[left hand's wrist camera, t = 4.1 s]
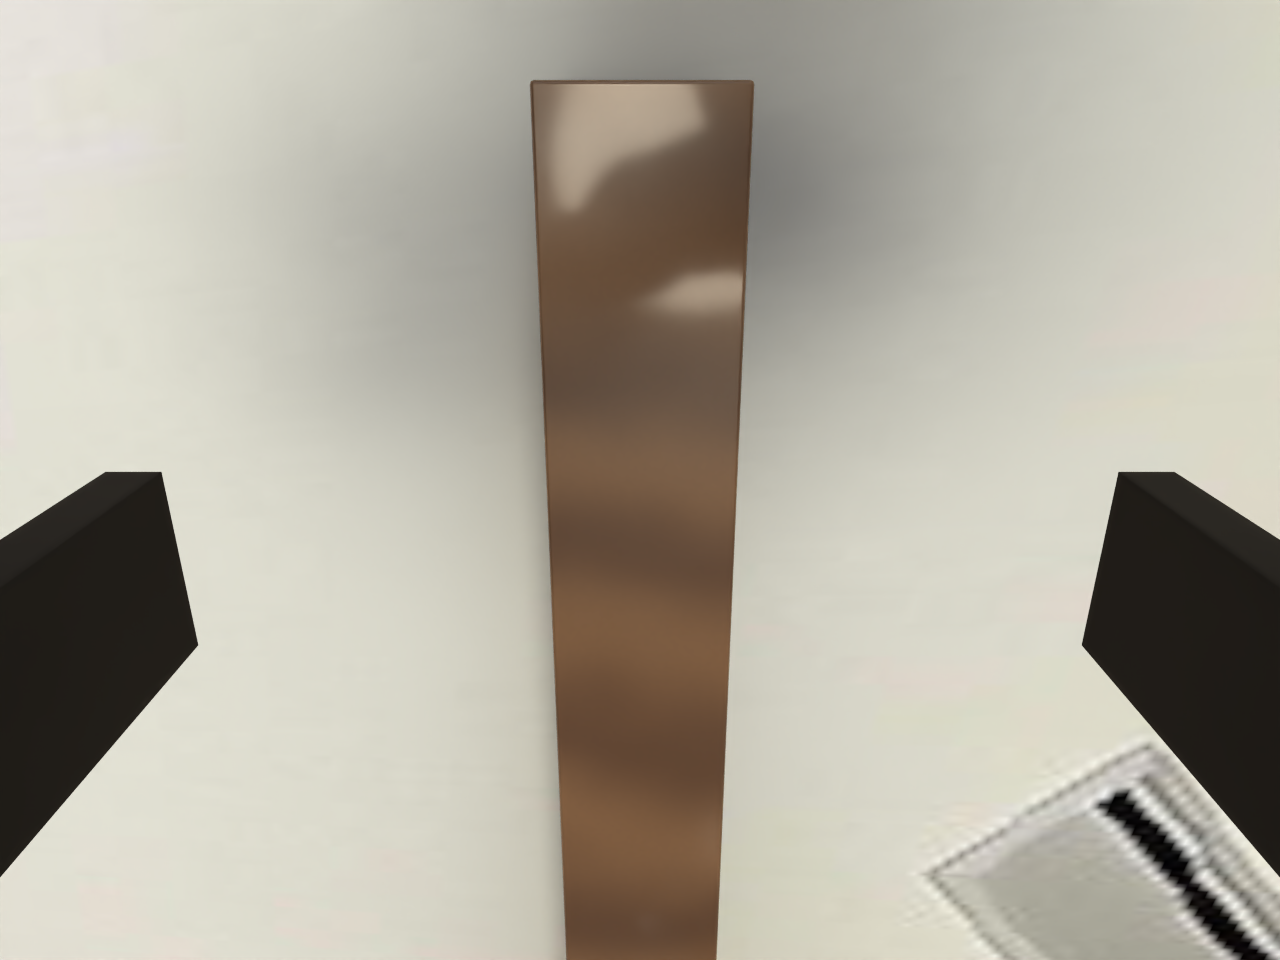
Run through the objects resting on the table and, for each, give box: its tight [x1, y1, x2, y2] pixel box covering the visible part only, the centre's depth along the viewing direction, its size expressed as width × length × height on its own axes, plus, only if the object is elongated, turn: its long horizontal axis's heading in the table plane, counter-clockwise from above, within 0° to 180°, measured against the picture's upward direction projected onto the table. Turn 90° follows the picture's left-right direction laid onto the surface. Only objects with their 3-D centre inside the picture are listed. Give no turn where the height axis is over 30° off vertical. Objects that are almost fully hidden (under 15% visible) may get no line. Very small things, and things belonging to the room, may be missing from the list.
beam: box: [530, 80, 754, 960], centre depth 37 cm, size 63×5×9 cm, turn 0°
